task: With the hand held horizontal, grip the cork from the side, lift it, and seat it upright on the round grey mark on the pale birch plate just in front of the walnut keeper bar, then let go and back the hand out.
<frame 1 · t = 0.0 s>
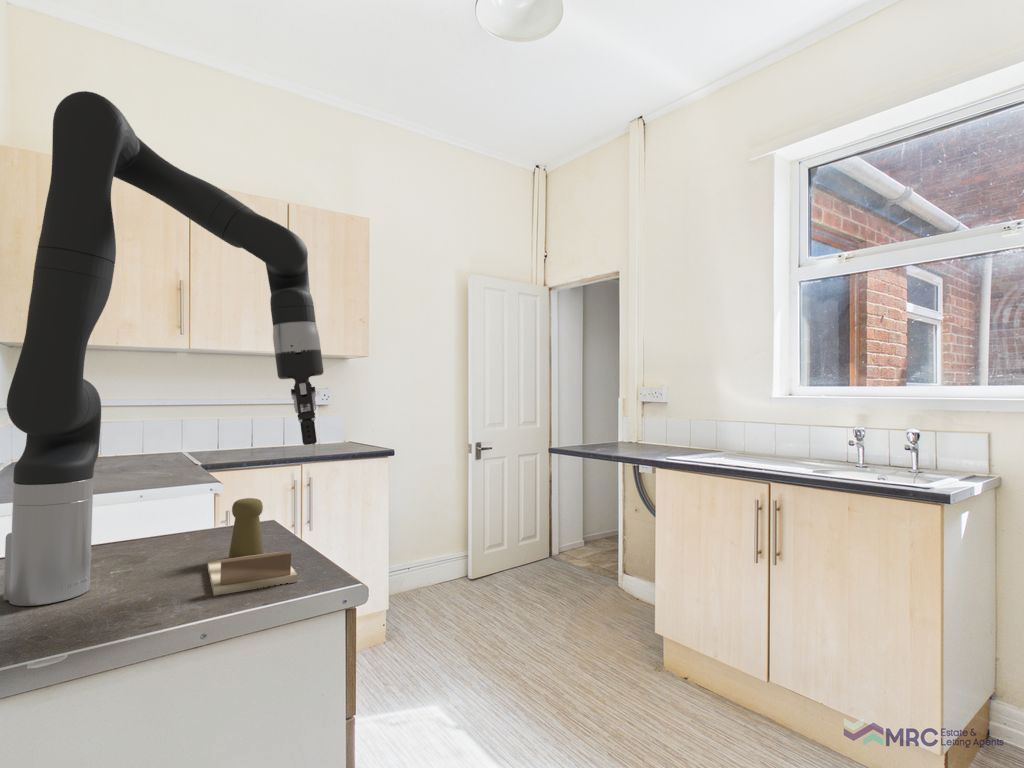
hand: (309, 442, 95), 22 cm above the counter, tool pointing down, fingers open, 8 cm apart
cork: (246, 559, 101), on the counter
keeper: (250, 574, 91), on the counter
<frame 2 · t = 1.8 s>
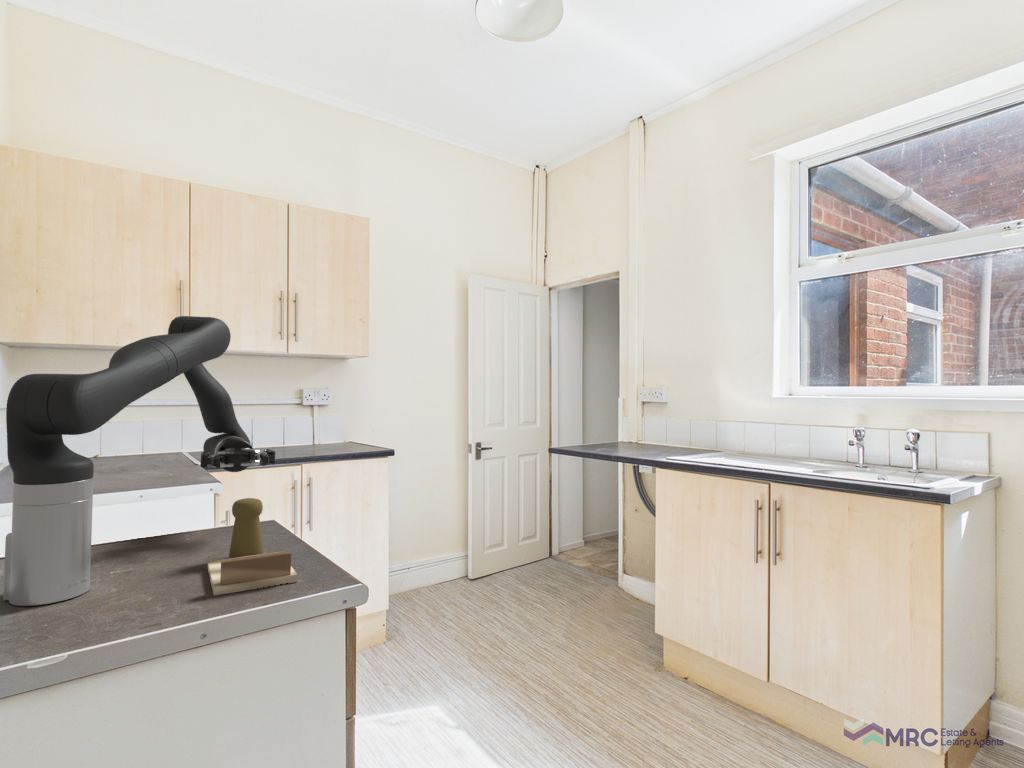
hand: (242, 461, 110), 17 cm above the counter, tool horizontal, fingers open, 8 cm apart
nothing on the counter moved.
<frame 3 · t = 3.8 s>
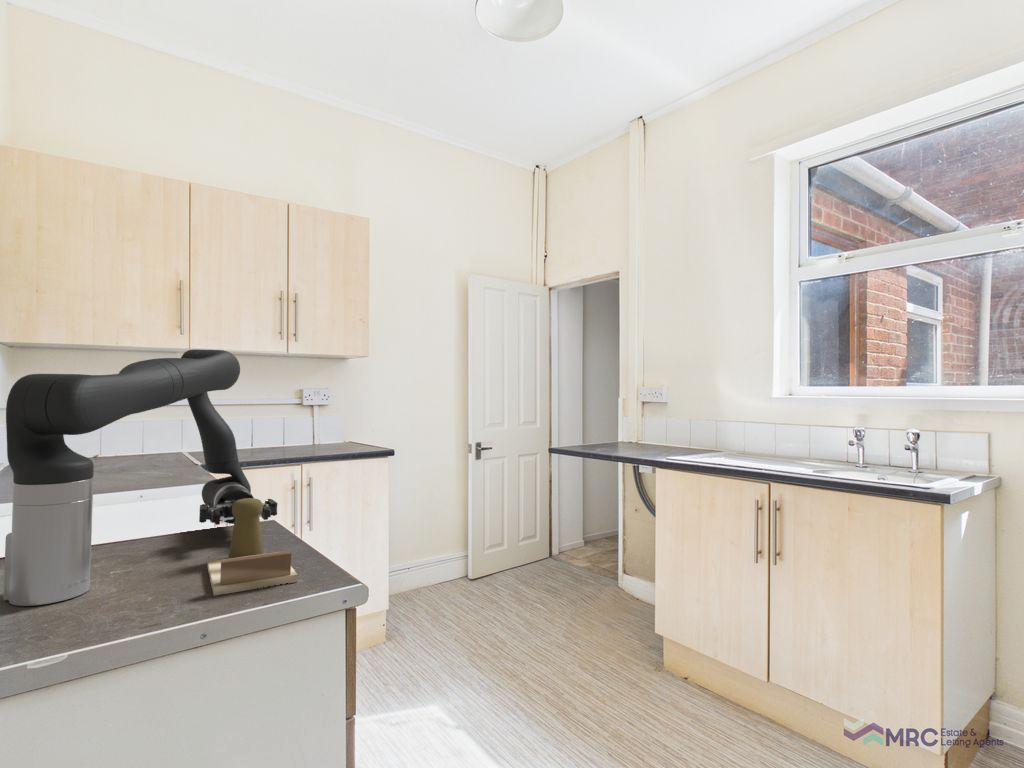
hand: (242, 516, 106), 6 cm above the counter, tool horizontal, fingers open, 8 cm apart
nothing on the counter moved.
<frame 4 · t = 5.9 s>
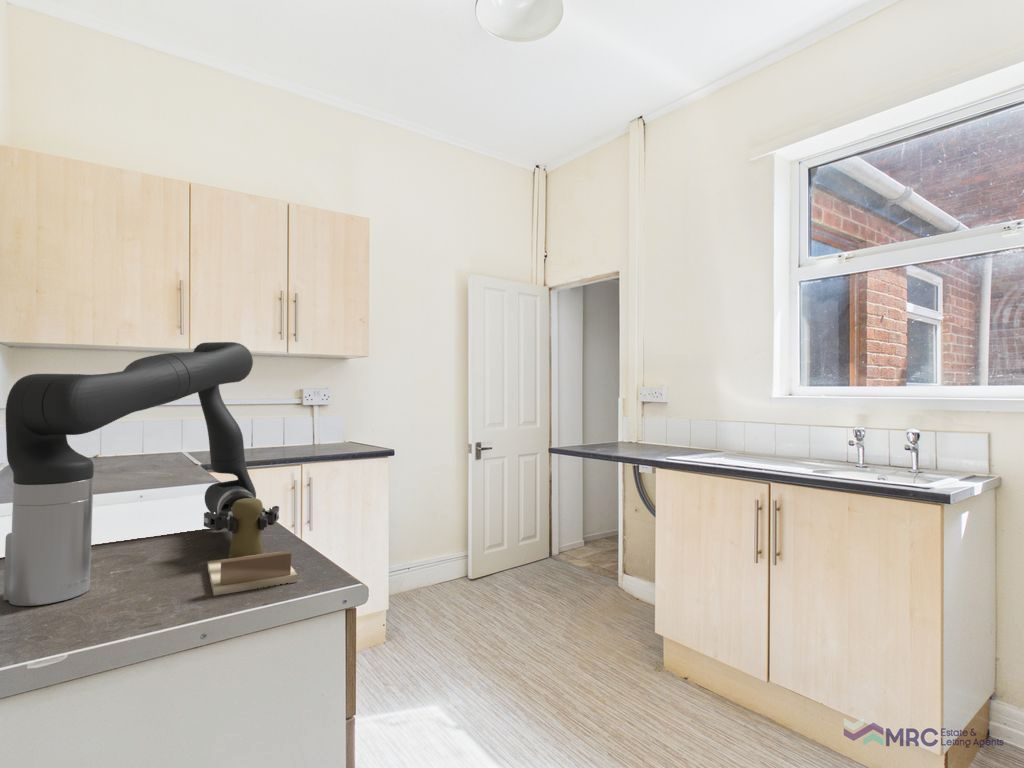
hand: (248, 526, 98), 7 cm above the counter, tool horizontal, fingers closed on cork, 4 cm apart
cork: (246, 559, 101), on the counter, touching gripper
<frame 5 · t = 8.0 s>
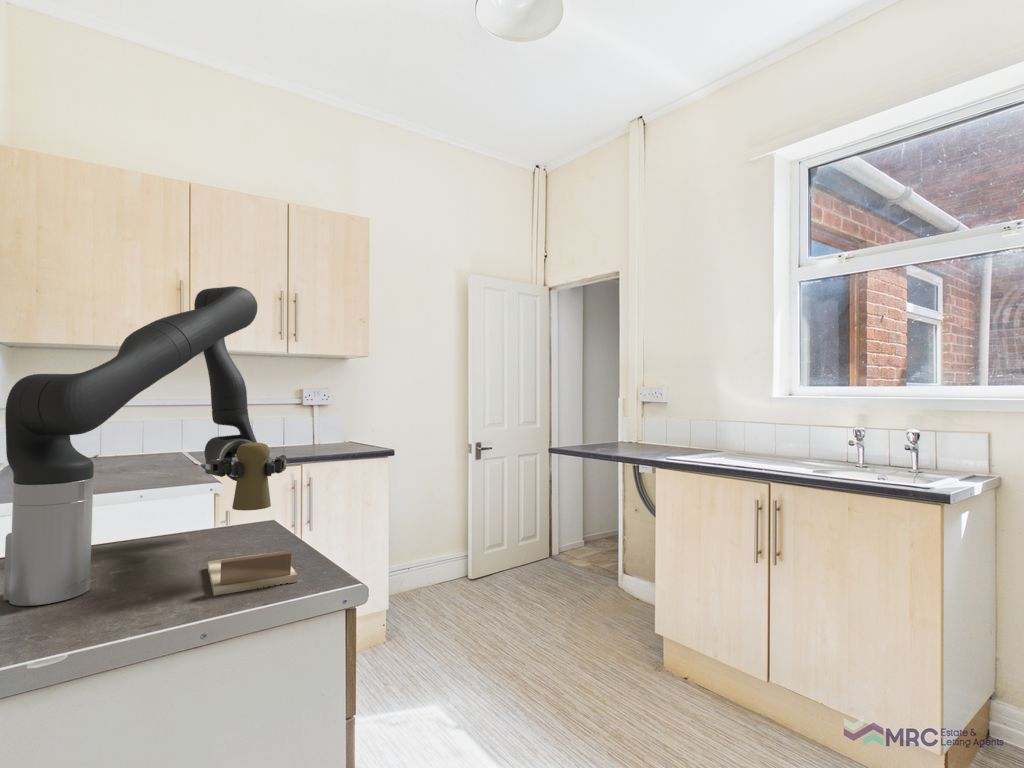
hand: (255, 470, 91), 18 cm above the counter, tool horizontal, fingers closed on cork, 4 cm apart
cork: (251, 507, 93), point 11 cm above the counter, touching gripper
when the fingers open (8 cm above the counter, at t = 9.9 s): cork moves 2 cm, resting on keeper.
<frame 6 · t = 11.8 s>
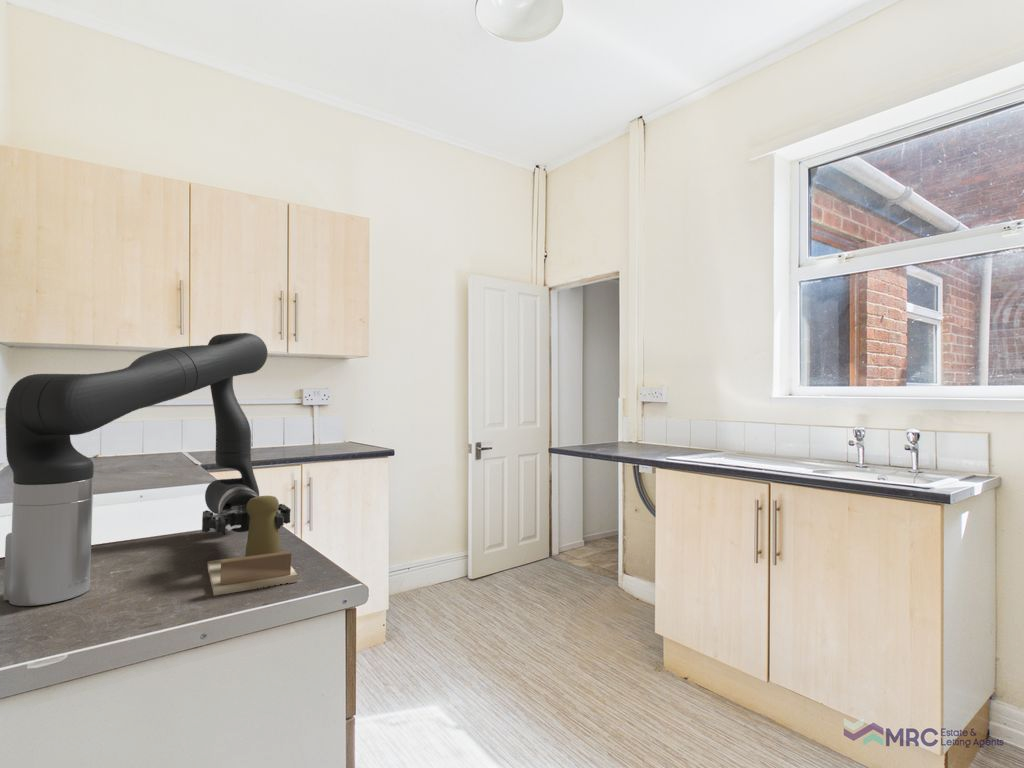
hand: (251, 525, 92), 8 cm above the counter, tool horizontal, fingers open, 8 cm apart
cork: (263, 561, 93), point 2 cm above the counter, touching keeper
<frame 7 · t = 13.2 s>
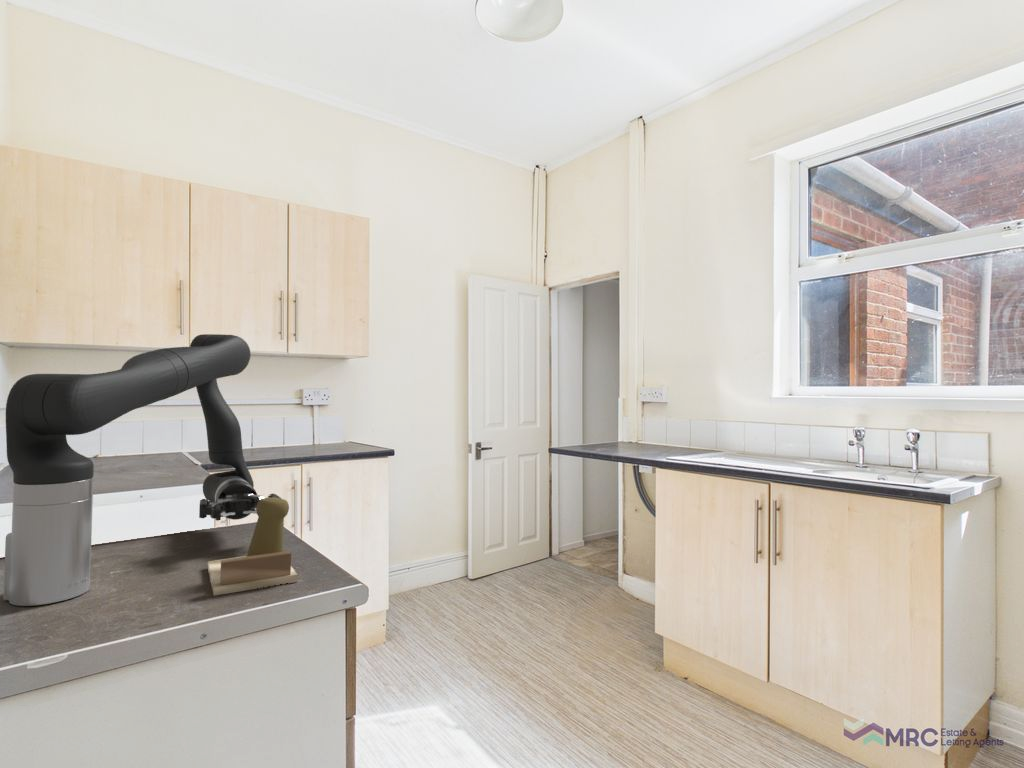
hand: (244, 512, 101), 8 cm above the counter, tool horizontal, fingers open, 8 cm apart
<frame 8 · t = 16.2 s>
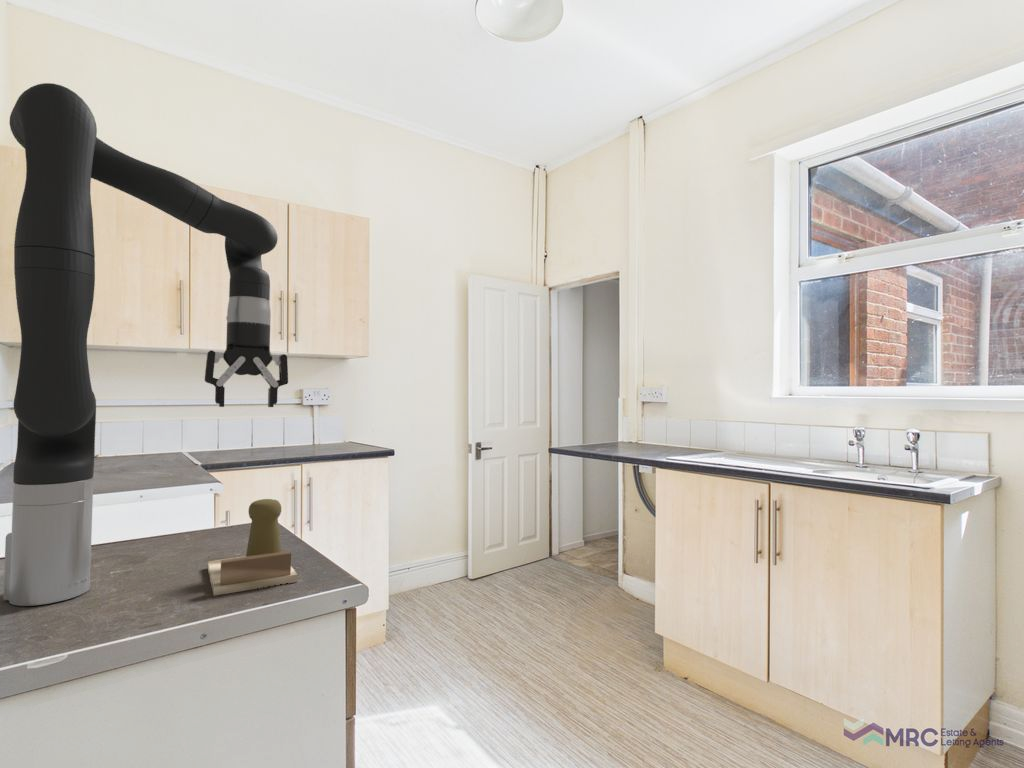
hand: (246, 406, 103), 28 cm above the counter, tool pointing down, fingers open, 8 cm apart
at the end: cork inside the target area on the keeper (2.2 cm from its centre), point 1.1 cm above the keeper's base; cork tilted 0°; the gripper is holding nothing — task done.
